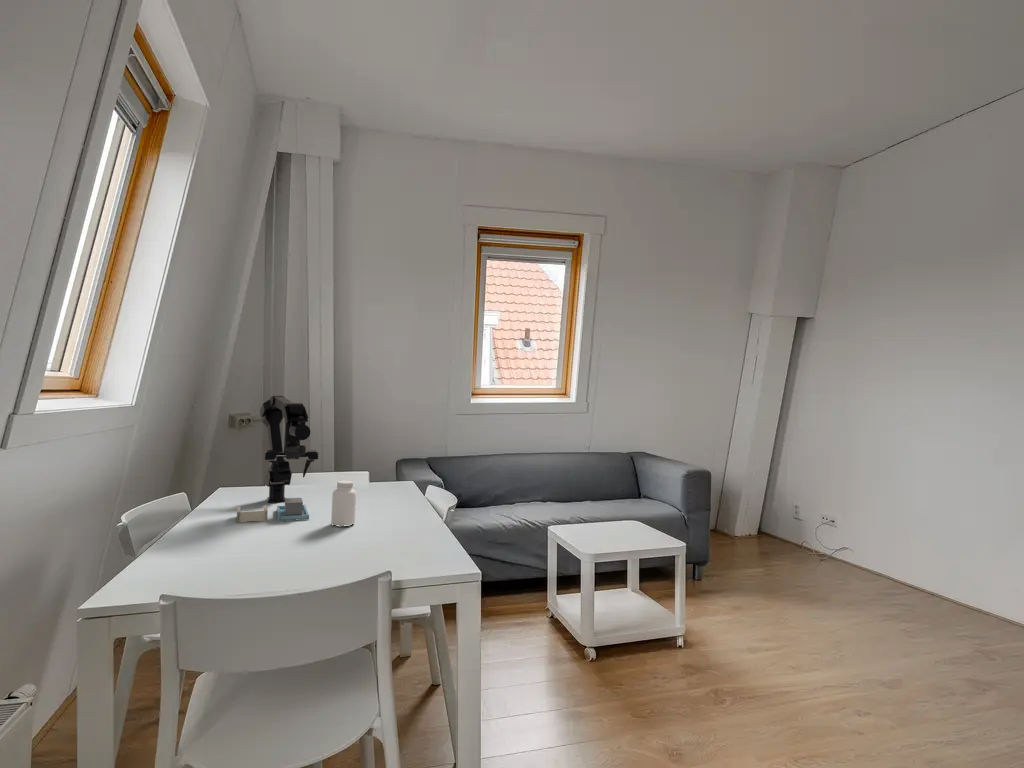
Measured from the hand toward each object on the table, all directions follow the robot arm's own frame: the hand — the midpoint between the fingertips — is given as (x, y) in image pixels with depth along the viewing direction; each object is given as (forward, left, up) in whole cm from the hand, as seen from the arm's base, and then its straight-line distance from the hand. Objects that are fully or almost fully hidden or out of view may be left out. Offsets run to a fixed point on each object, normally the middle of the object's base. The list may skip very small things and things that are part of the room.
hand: (290, 477), depth 223 cm
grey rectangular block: (+10, +1, -11) cm, 15 cm away
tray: (+9, +1, -12) cm, 15 cm away
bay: (+12, -13, -12) cm, 21 cm away
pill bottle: (+26, +16, -12) cm, 33 cm away
